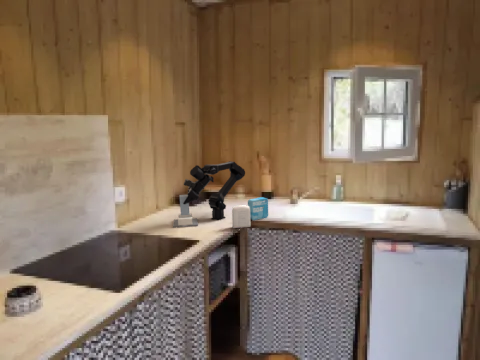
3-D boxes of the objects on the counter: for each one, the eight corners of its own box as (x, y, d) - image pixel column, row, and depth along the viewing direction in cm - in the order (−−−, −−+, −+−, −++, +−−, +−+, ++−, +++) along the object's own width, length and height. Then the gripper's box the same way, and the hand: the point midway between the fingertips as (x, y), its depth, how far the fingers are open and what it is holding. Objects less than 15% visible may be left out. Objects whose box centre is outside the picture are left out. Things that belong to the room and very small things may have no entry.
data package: (252, 220, 227) (251, 200, 225) (248, 219, 231) (247, 199, 229) (268, 217, 233) (268, 198, 231) (264, 215, 237) (263, 196, 235)
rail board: (197, 219, 234) (196, 212, 233) (197, 226, 219) (197, 218, 219) (174, 220, 232) (173, 213, 231) (173, 227, 217) (172, 220, 217)
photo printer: (249, 225, 218) (249, 203, 216) (251, 227, 213) (250, 205, 212) (231, 226, 216) (231, 205, 214) (233, 228, 212) (232, 206, 210)
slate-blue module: (189, 212, 227) (188, 194, 226) (189, 214, 223) (188, 196, 221) (181, 213, 227) (179, 195, 225) (180, 215, 222) (179, 196, 221)
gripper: (191, 172, 231) (173, 191, 231) (191, 176, 213) (172, 197, 213) (204, 184, 233) (187, 202, 233) (206, 189, 215) (187, 210, 215)
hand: (183, 203), depth 224 cm, fingers closed on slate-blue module, 4 cm apart
